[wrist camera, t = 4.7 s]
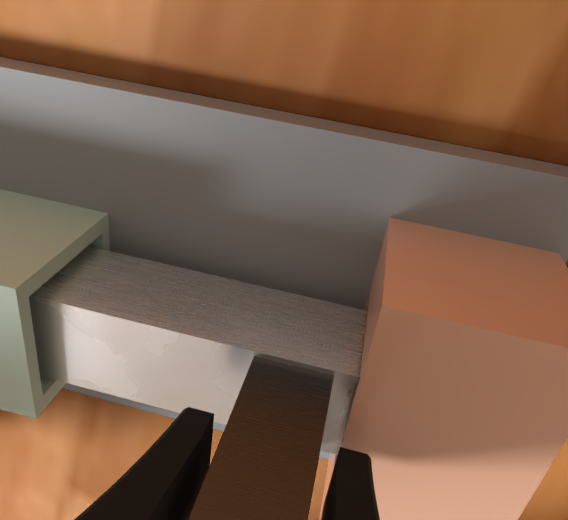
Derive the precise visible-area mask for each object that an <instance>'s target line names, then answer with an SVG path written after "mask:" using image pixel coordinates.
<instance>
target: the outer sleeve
mask: <svg viewBox="0 0 568 520" xmlns="http://www.w3.org/2000/svg"><path fill="white" fill-rule="evenodd" d="M87 246H91V247H95V248H99V249H104V250H108V251H110V241H109V218H108V213H105V212H100V211H96V210H92V209H87V208H83V207H78V206H74V205H69V204H65V203H60V202H56V201H51V200H47V199H42V198H38V197H33V196H29V195H25V194H20V193H16V192H11V191H7V190H2V189H0V409H1V410H4V411H8V412H12V413H15V414H19V415H23V416H26V417H30V418H33V419H37V418H38V416H39V415H40V414H41V413H42V412H43V410H44V409H45V408H46V407H47V406H48V404H49V403H50V402H51V401H52V400H53V398H54V397H55V396H56V395H57V393H58V392H59V391H60V390H61V389H62V387H63V386H64V385H65V384H66V383H65V382H61V381H57V380H54V379H50V378H46V377H42V376H40V372H39V365H38V358H37V351H36V344H35V338H34V331H33V324H32V317H31V310H30V303H29V296H31V295H32V294H33V293H34V292H35V291H36V290H38V289H39V288H40V287H41V286H42V285H43V284H44V283H46V282H47V281H48V280H49V279H50V278H51V277H53V276H54V275H55V274H56V273H57V272H58V271H59V270H61V269H62V268H63V267H64V266H65V265H66V264H68V263H69V262H70V261H71V260H72V259H73V258H74V257H76V256H77V255H78V254H79V253H80V252H81V251H83V250H84V249H85V248H86V247H87Z"/></svg>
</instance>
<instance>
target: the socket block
mask: <svg viewBox="0 0 568 520" xmlns="http://www.w3.org/2000/svg"><path fill="white" fill-rule="evenodd" d="M365 310H366V311H368V314H367V322H366V330H365V339H364V347H363V355H362V363H361V371H360V379H359V383H358V386H357V390H356V393H355V397H354V401H353V404H352V408H351V411H350V415H349V418H348V422H347V425H346V429H345V432H344V436H343V439H342V443H341V447H343V448H346V449H350V450H354V451H358V452H362V453H365V454H368V455H369V457H370V458H371V462H372V474H373V482H374V489H375V495H376V501H377V507H378V512H379V517H380V520H518V518H519V517H520V515H521V513H522V512H523V510H524V508H525V507H526V505H527V504H528V502H529V500H530V499H531V497H532V495H533V494H534V492H535V490H536V489H537V487H538V485H539V484H540V482H541V481H542V479H543V477H544V476H545V474H546V472H547V471H548V469H549V467H550V466H551V464H552V462H553V461H554V459H555V458H556V456H557V454H558V453H559V451H560V449H561V448H562V446H563V444H564V443H565V441H566V439H567V438H568V268H567V266H566V264H565V262H564V260H563V258H562V256H561V254H560V253H556V252H551V251H546V250H542V249H537V248H532V247H527V246H523V245H518V244H513V243H509V242H504V241H499V240H494V239H490V238H485V237H480V236H475V235H471V234H466V233H461V232H456V231H452V230H447V229H442V228H438V227H433V226H428V225H423V224H419V223H414V222H409V221H404V220H400V219H395V218H390V217H389V220H388V224H387V228H386V232H385V235H384V239H383V243H382V247H381V251H380V254H379V258H378V262H377V266H376V269H375V273H374V277H373V281H372V285H371V288H370V292H369V296H368V300H367V303H366V307H365ZM336 459H337V455H336V454H332V453H330V456H329V462H328V468H327V474H326V481H325V487H324V493H323V499H322V505H321V511H320V517H319V520H321V517H322V511H323V506H324V502H325V498H326V495H327V491H328V487H329V484H330V480H331V477H332V473H333V470H334V466H335V463H336Z"/></svg>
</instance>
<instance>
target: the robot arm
mask: <svg viewBox="0 0 568 520" xmlns="http://www.w3.org/2000/svg"><path fill="white" fill-rule="evenodd" d="M213 422H214V413H210V412H206V411H202V410H198V409H195V408H191V407H187V408H185V409H183V411H182V412H181V413H180V414H179V416H178V417H177V418H176V419H175V421H174V422H173V423H172V424H171V425H170V426H169V428H168V429H167V430H166V431H165V432H164V433H163V434H162V435H161V437H160V438H159V439H158V440H157V441H156V442H155V443H154V444H153V445H152V446H151V447H150V448H149V450H148V451H147V452H146V453H145V454H144V455H143V456H142V457H141V458H140V459H139V460H138V461H137V462H136V463H135V464H134V465H133V466H132V467H131V468H130V469H129V470H128V471H127V472H126V473H125V474H124V475H123V476H122V477H121V478H120V479H119V480H118V481H117V482H116V483H115V484H114V485H112V486H111V487H110V488H109V489H108V490H107V491H106V492H105V493H104V494H103V495H101V496H100V497H99V498H98V499H97V500H96V501H95V502H94V503H93V504H92V505H90V506H89V507H88V508H87V509H86V510H85V511H84V512H83V513H82V514H80V515H79V516H78V517H77V518H76V519H75V520H189V517H190V514H191V512H192V509H193V507H194V504H195V502H196V499H197V497H198V494H199V492H200V489H201V487H202V484H203V482H204V479H205V477H206V474H207V472H208V469H209V466H210V455H211V444H212V433H213ZM321 520H380V517H379V512H378V507H377V501H376V495H375V489H374V482H373V474H372V462H371V458H370V457H369V455H368V454H365V453H362V452H358V451H354V450H350V449H346V448H343V447H340V448H339V452H338V455H337V459H336V463H335V466H334V470H333V473H332V477H331V480H330V484H329V487H328V491H327V495H326V498H325V502H324V506H323V511H322V517H321Z"/></svg>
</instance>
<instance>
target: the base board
mask: <svg viewBox="0 0 568 520" xmlns="http://www.w3.org/2000/svg"><path fill="white" fill-rule="evenodd" d="M0 189H2V190H7V191H11V192H16V193H20V194H25V195H29V196H33V197H38V198H42V199H47V200H51V201H56V202H60V203H65V204H69V205H74V206H78V207H83V208H87V209H92V210H96V211H100V212H105V213H108V218H109V241H110V251H112V252H117V253H121V254H125V255H129V256H134V257H138V258H142V259H147V260H151V261H155V262H160V263H164V264H168V265H172V266H177V267H181V268H185V269H190V270H194V271H198V272H203V273H207V274H211V275H215V276H220V277H224V278H228V279H233V280H237V281H241V282H246V283H250V284H254V285H258V286H263V287H267V288H271V289H276V290H280V291H284V292H289V293H293V294H297V295H301V296H306V297H310V298H314V299H319V300H323V301H327V302H332V303H336V304H340V305H344V306H349V307H353V308H357V309H362V310H365V307H366V303H367V300H368V296H369V292H370V288H371V285H372V281H373V277H374V273H375V269H376V266H377V262H378V258H379V254H380V251H381V247H382V243H383V239H384V235H385V232H386V228H387V224H388V220H389V217H390V218H395V219H400V220H404V221H409V222H414V223H419V224H423V225H428V226H433V227H438V228H442V229H447V230H452V231H456V232H461V233H466V234H471V235H475V236H480V237H485V238H490V239H494V240H499V241H504V242H509V243H513V244H518V245H523V246H527V247H532V248H537V249H542V250H546V251H551V252H556V253H560V254H561V256H562V258H563V260H564V262H565V264H566V263H567V261H568V166H564V165H559V164H554V163H549V162H544V161H538V160H533V159H528V158H523V157H518V156H512V155H507V154H502V153H497V152H492V151H486V150H481V149H476V148H471V147H466V146H461V145H455V144H450V143H445V142H440V141H435V140H429V139H424V138H419V137H414V136H409V135H403V134H398V133H393V132H388V131H383V130H378V129H372V128H367V127H362V126H357V125H352V124H346V123H341V122H336V121H331V120H326V119H320V118H315V117H310V116H305V115H300V114H295V113H289V112H284V111H279V110H274V109H269V108H263V107H258V106H253V105H248V104H243V103H237V102H232V101H227V100H222V99H217V98H211V97H206V96H201V95H196V94H191V93H186V92H180V91H175V90H170V89H165V88H160V87H154V86H149V85H144V84H139V83H134V82H128V81H123V80H118V79H113V78H108V77H103V76H97V75H92V74H87V73H82V72H77V71H71V70H66V69H61V68H56V67H51V66H45V65H40V64H35V63H30V62H25V61H20V60H14V59H9V58H4V57H0ZM62 389H66V390H70V391H73V392H77V393H81V394H85V395H88V396H92V397H96V398H100V399H103V400H107V401H111V402H115V403H118V404H122V405H126V406H130V407H133V408H137V409H141V410H145V411H148V412H152V413H156V414H159V415H163V416H167V417H171V418H174V419H176V418H177V417H178V416H179V414H180V413H178V412H174V411H170V410H167V409H163V408H159V407H155V406H151V405H148V404H144V403H140V402H136V401H133V400H129V399H125V398H121V397H118V396H114V395H110V394H106V393H102V392H99V391H95V390H91V389H87V388H84V387H80V386H76V385H72V384H69V383H66V384H65V385H64V386H63V387H62ZM225 427H226V425H223V424H219V423H215V422H213V429H216V430H219V431H223V432H224V429H225ZM329 456H330V453H328V452H325V451H321V450H320V455H319V457H320V458H324V459H328V460H329Z"/></svg>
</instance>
